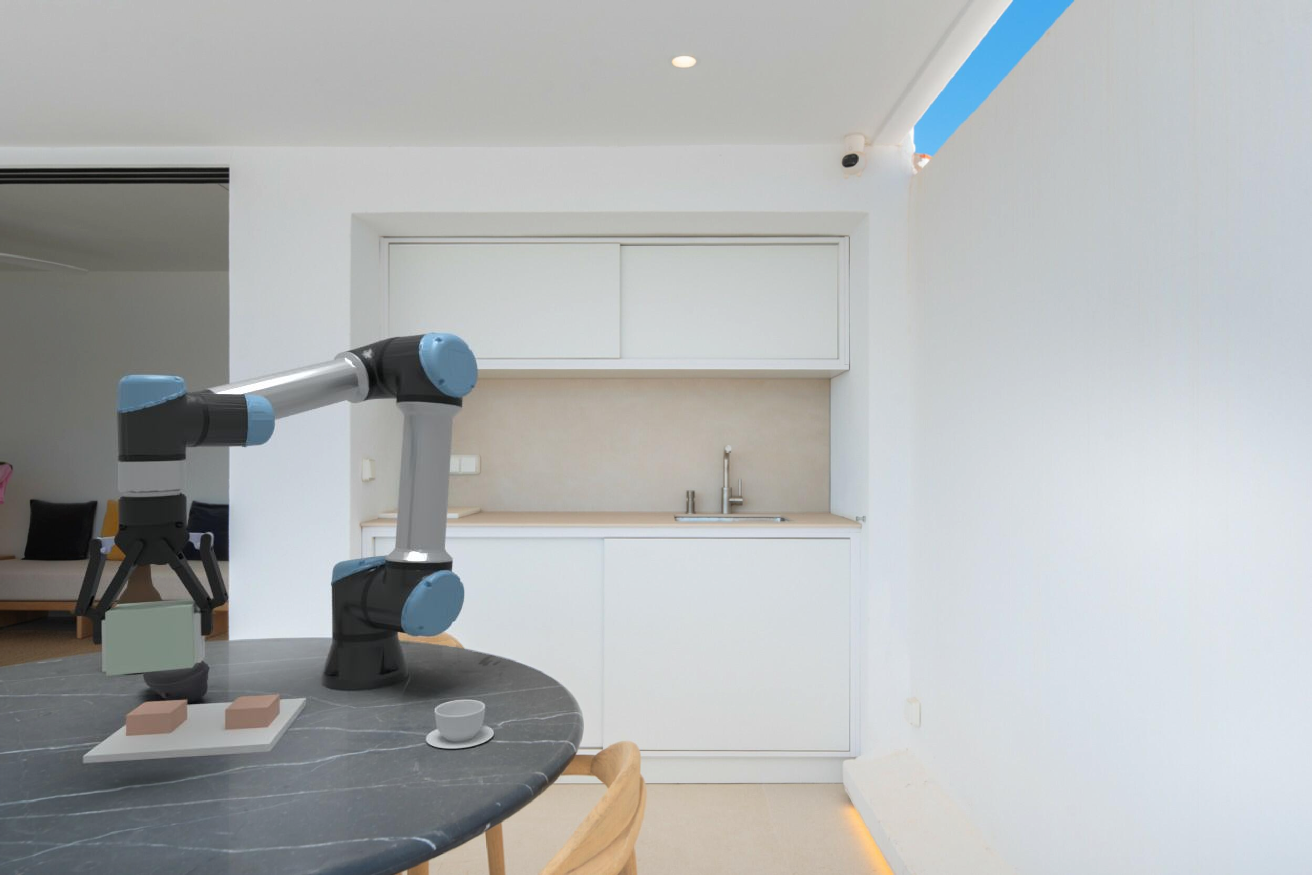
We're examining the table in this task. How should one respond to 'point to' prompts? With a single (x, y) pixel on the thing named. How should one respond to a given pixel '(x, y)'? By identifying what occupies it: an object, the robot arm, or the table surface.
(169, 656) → the key block
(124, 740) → the slot base
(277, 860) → the table surface
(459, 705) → the teacup
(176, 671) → the glasses case
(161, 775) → the table surface
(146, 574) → the beer bottle
